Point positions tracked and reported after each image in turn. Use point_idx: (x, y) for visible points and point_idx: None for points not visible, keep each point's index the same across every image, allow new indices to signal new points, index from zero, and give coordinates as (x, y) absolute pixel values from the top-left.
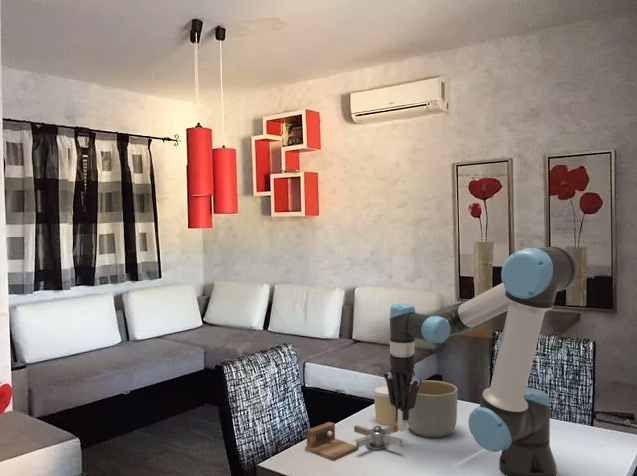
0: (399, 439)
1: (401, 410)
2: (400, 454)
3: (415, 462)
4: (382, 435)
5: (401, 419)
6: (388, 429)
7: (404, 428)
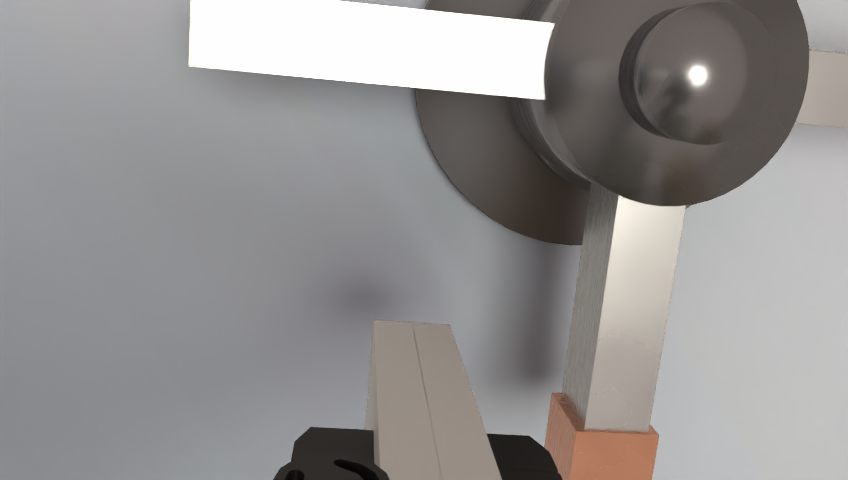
0: (222, 30)
1: (354, 468)
2: (313, 139)
3: (41, 48)
4: (546, 24)
5: (381, 399)
6: (601, 298)
7: (367, 399)
